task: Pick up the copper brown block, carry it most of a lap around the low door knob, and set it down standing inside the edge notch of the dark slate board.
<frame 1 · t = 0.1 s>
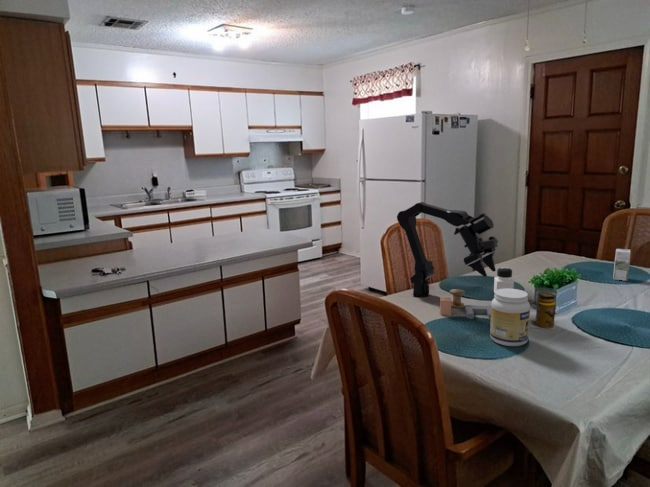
hand: (490, 273, 180), 15 cm above the table, tool tilted 30°, fingers open, 9 cm apart
condiment: (541, 325, 165), on the table
copper brown block: (445, 313, 180), on the table
syrup box: (620, 279, 215), on the table
notched board: (479, 314, 178), on the table
door knob: (456, 305, 188), on the table
medicine bottle: (503, 295, 200), on the table
supplement tub: (508, 340, 154), on the table
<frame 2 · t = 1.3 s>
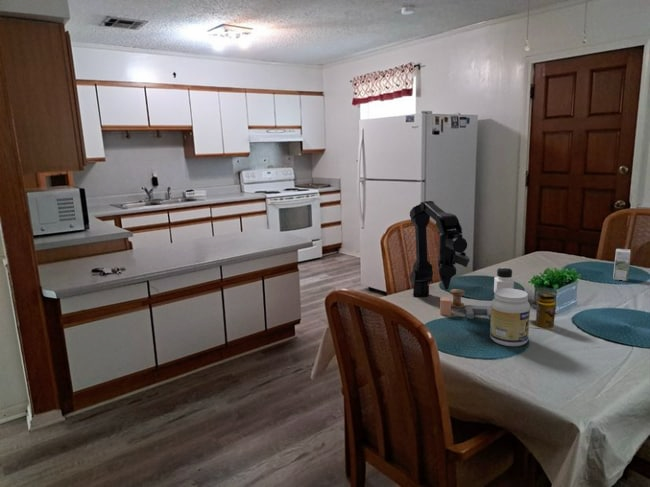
hand: (446, 285, 178), 11 cm above the table, tool pointing down, fingers open, 9 cm apart
nothing on the table moved.
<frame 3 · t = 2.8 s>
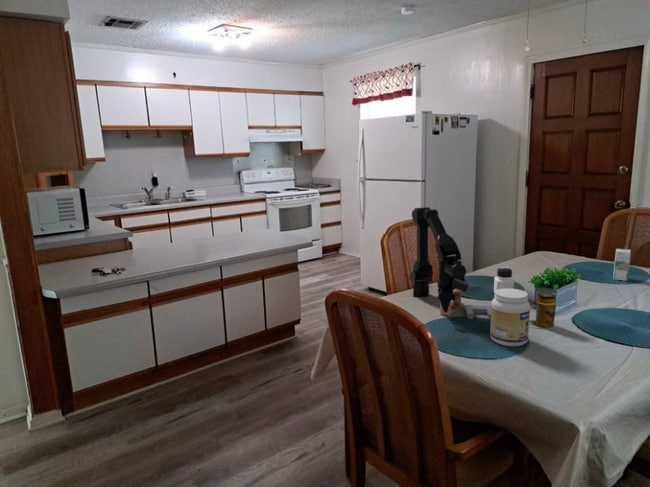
hand: (445, 310, 180), 1 cm above the table, tool pointing down, fingers closed on copper brown block, 4 cm apart
copper brown block: (445, 313, 180), on the table, touching gripper
everything else where it was.
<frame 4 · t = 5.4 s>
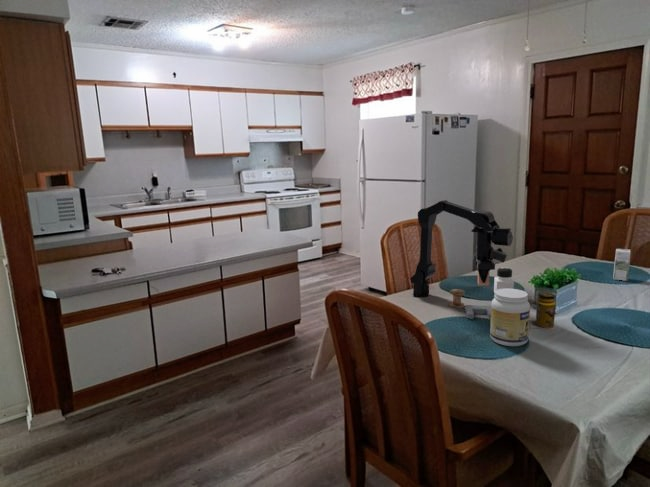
hand: (483, 281, 182), 11 cm above the table, tool pointing down, fingers closed on copper brown block, 4 cm apart
copper brown block: (483, 284, 183), point 10 cm above the table, touching gripper
everything else where it was.
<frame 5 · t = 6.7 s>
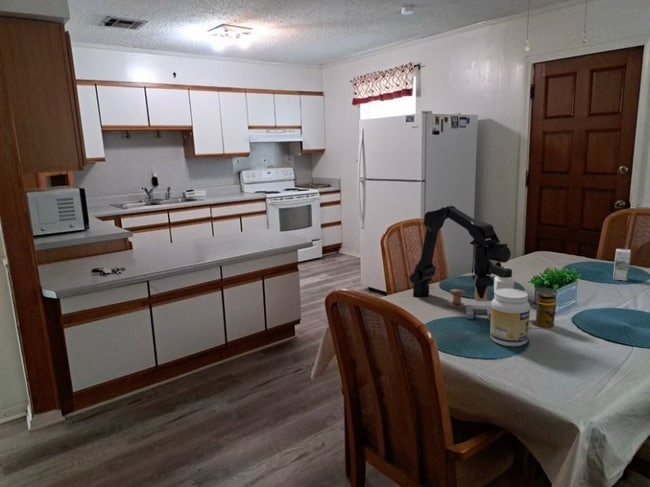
hand: (480, 296, 174), 8 cm above the table, tool pointing down, fingers closed on copper brown block, 4 cm apart
copper brown block: (480, 299, 174), point 7 cm above the table, touching gripper
everything else where it was.
when the fingers open (3 cm above the table, at t = 7.9 s): copper brown block drops 2 cm, on the table.
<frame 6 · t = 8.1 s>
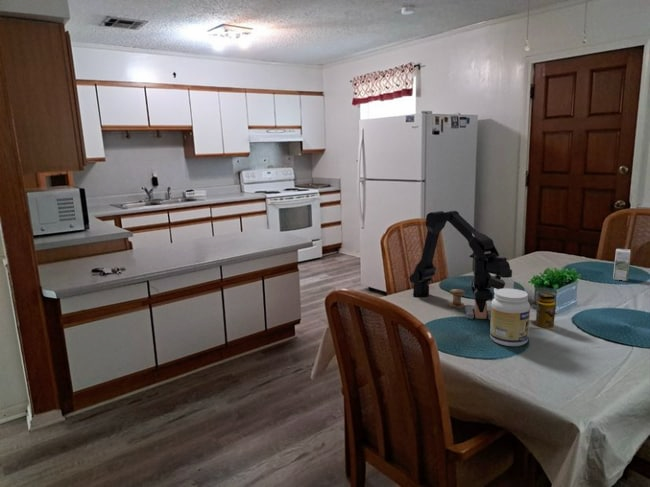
hand: (480, 309, 175), 3 cm above the table, tool pointing down, fingers open, 6 cm apart
copper brown block: (480, 316, 176), on the table
everything else where it was.
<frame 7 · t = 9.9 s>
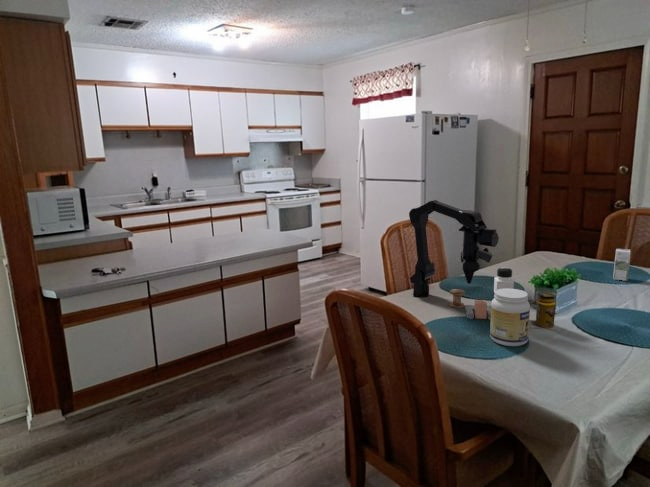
hand: (468, 280, 184), 11 cm above the table, tool pointing down, fingers open, 9 cm apart
nothing on the table moved.
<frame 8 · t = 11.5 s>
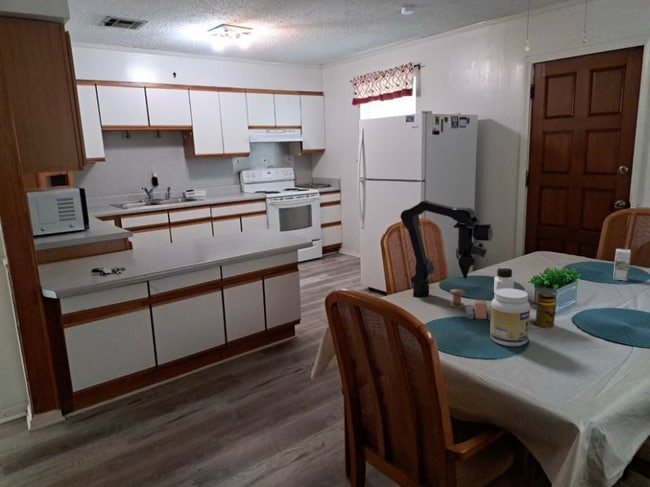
hand: (464, 275, 189), 12 cm above the table, tool pointing down, fingers open, 9 cm apart
nothing on the table moved.
at the end: copper brown block 0.1 cm from the target spot, on the table; copper brown block tilted 0°; the gripper is holding nothing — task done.
